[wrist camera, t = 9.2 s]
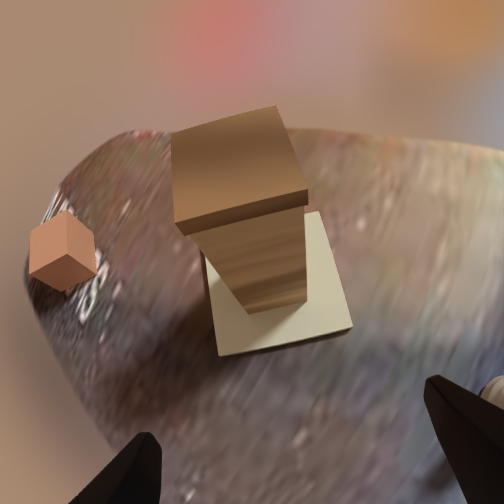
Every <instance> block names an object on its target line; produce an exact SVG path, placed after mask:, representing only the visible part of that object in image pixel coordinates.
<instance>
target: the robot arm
mask: <svg viewBox="0 0 504 504" xmlns="http://www.w3.org/2000/svg"><path fill="white" fill-rule="evenodd" d="M424 402H425V404H426V407H427V410H428V413H429V415H430V418H431V421H432V424H433V427H434V430H435V432H436V435H437V438H438V440H439V442H440V444H441V446H442V449H443V451H444V453H445V455H446V457H447V459H448V461H449V463H450V465H451V467H452V470H453V472H454V474H455V476H456V478H457V481H458V483H459V485H460V487H461V489H462V492H463V494H464V496H465V499H466V501H467V503H468V504H504V410H503V409H502V408H500V407H498V406H496V405H494V404H492V403H490V402H488V401H487V400H485V399H483V398H481V397H479V396H477V395H475V394H474V393H472V392H470V391H468V390H466V389H464V388H463V387H461V386H459V385H457V384H455V383H453V382H452V381H450V380H448V379H446V378H444V377H442V376H441V375H438V374H437V375H434V376H431V377H428V378H427V379H426V382H425V389H424ZM161 471H162V449H161V446H160V445H159V443H158V442H157V440H156V439H155V438H154V436H153V435H152V434H151V433H150V432H140V433H138V434H137V435H136V436H135V437H134V438H133V439H132V440H131V441H130V442H129V443H128V444H127V445H126V446H125V447H124V448H123V449H122V450H121V451H120V452H119V454H118V455H117V456H116V457H115V458H114V459H113V460H112V461H111V462H110V463H109V464H108V465H107V466H106V467H105V468H104V469H103V470H102V471H101V472H100V473H99V474H98V475H97V476H96V477H95V478H94V479H93V480H92V481H91V482H90V483H89V484H88V485H87V486H86V487H85V488H84V489H83V490H82V491H81V492H80V493H79V494H78V496H76V497H75V498H74V499H73V500H72V501H71V502H69V503H68V504H159V501H160V493H161Z"/></svg>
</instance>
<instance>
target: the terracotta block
mask: <svg viewBox="0 0 504 504" xmlns="http://www.w3.org/2000/svg"><path fill="white" fill-rule="evenodd" d="M29 274H30V275H32V276H33V277H35V278H37V279H39V280H40V281H42V282H44V283H46V284H48V285H49V286H51V287H53V288H55V289H57V290H58V291H60V292H62V291H64V290H66V289H68V288H70V287H73V286H75V285H77V284H79V283H81V282H83V281H85V280H87V279H90V278H92V277H94V276H96V275H97V266H96V257H95V247H94V235H93V233H92V232H91V231H90V230H89V229H88V228H87V227H85V226H84V225H83V224H82V223H81V222H80V221H79V220H78V219H76V218H75V217H74V216H73V215H72V214H71V213H70V212H69V211H68V210H67V209H66V210H65V211H63V212H61V213H59V214H58V215H56V216H54V217H53V218H51V219H49V220H48V221H46V222H44V223H43V224H41V225H40V226H38V227H36V228H35V229H33V230H32V231H31V238H30V270H29Z"/></svg>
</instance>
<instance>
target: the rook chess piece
mask: <svg viewBox="0 0 504 504" xmlns="http://www.w3.org/2000/svg"><path fill="white" fill-rule="evenodd" d="M481 398H483V399H485V400H487V401H488V402H490V403H492V404H494V405H496V406H498V407H500V408H502V409H503V410H504V376H499V377H496V378H494V379H493V380H491V381H490V382H489V383H488V384H487V385H486V387H485V389H484V390H483V392H482V394H481Z"/></svg>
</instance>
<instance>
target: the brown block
mask: <svg viewBox="0 0 504 504" xmlns="http://www.w3.org/2000/svg"><path fill="white" fill-rule="evenodd" d="M171 162H172V187H173V206H174V222H175V224H176V225H177V227H178V228H179V230H180V231H181V232H182V234H183V235H184V236H186V235H189V234H190V236H191V237H192V238H193V240H194V241H195V243H196V244H197V245H198V247H199V248H200V250H201V251H202V252H203V254H204V255H205V257H206V258H207V259H208V261H209V262H210V264H211V265H212V266H213V268H214V269H215V270H216V272H217V273H218V274H219V276H220V277H221V279H222V280H223V281H224V283H225V284H226V285H227V287H228V288H229V289H230V291H231V292H232V293H233V295H234V296H235V298H236V299H237V300H238V302H239V303H240V304H241V306H242V307H243V308H244V310H245V311H246V312H247V314H248V315H250V314H254V313H258V312H263V311H267V310H271V309H276V308H280V307H284V306H288V305H292V304H297V303H301V302H305V301H307V266H306V241H305V220H304V206H305V205H308V188H307V185H306V182H305V179H304V177H303V174H302V171H301V169H300V166H299V163H298V160H297V158H296V155H295V153H294V150H293V147H292V145H291V142H290V140H289V137H288V134H287V132H286V129H285V127H284V124H283V122H282V119H281V117H280V114H279V112H278V109H277V107H276V106H272V107H268V108H263V109H259V110H255V111H250V112H246V113H242V114H238V115H235V116H231V117H227V118H223V119H219V120H216V121H212V122H209V123H206V124H202V125H198V126H195V127H192V128H189V129H185V130H182V131H179V132H176V133H173V134H171Z"/></svg>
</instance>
